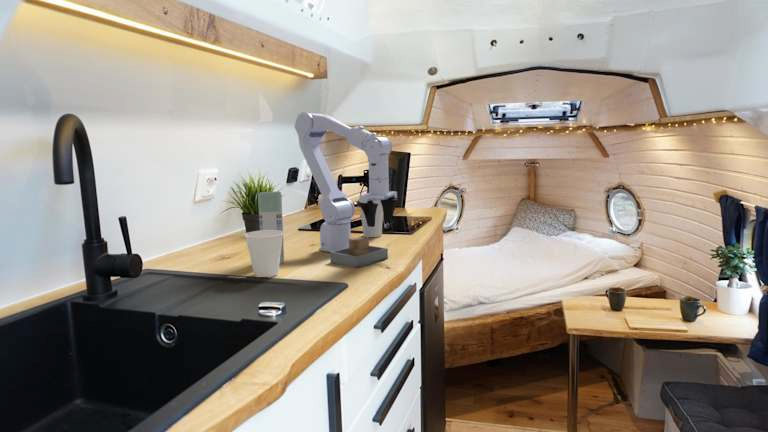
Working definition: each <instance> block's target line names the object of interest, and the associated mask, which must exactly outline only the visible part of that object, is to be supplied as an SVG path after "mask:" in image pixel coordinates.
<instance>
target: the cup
mask: <svg viewBox="0 0 768 432" xmlns="http://www.w3.org/2000/svg"><path fill="white" fill-rule="evenodd" d="M284 234H285V233H284V231H283V232H282V231H278V230H261V231H260V230H254V231H249V232H246V233H244V237H245V240H246V245H247V249H248V253H249V257H250V261H251V266H252V271H253V275H254V276H255V277H256V278H259V277H268V278H273V277H276V276H277V275H278V274H279V272H280V271H279V270H280V264H279V262H280V255H281V247H282V238H283V239H284Z"/></svg>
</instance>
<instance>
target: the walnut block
mask: <svg viewBox="0 0 768 432" xmlns="http://www.w3.org/2000/svg"><path fill="white" fill-rule="evenodd" d="M369 246H370V238H368V237H364V236H363V237H362V236H357V237H351V239H349V255H352V256H360V255H363V254H367V253H369Z"/></svg>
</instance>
